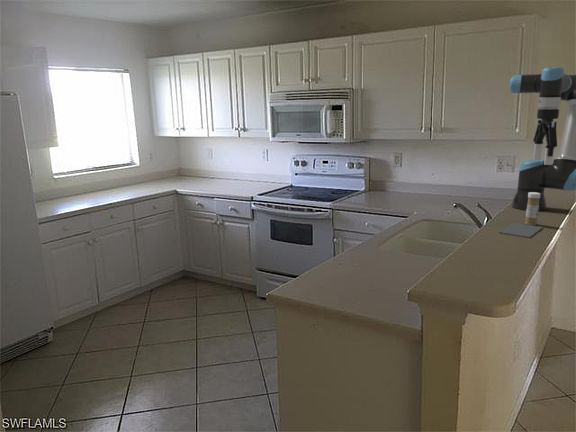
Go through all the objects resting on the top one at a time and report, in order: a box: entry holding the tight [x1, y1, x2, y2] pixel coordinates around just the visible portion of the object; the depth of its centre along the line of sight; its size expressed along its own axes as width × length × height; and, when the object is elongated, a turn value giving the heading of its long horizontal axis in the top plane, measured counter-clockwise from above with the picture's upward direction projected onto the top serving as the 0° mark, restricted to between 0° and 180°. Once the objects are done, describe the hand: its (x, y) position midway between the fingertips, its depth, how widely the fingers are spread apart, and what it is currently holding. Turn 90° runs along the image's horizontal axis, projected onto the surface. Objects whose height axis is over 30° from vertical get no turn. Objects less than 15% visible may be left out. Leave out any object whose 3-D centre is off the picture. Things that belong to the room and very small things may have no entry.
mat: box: [498, 222, 544, 239], centre depth 191 cm, size 20×11×1 cm, turn 140°
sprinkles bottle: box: [524, 192, 540, 226], centre depth 200 cm, size 5×5×13 cm
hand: (542, 162), depth 195 cm, fingers open, 13 cm apart
